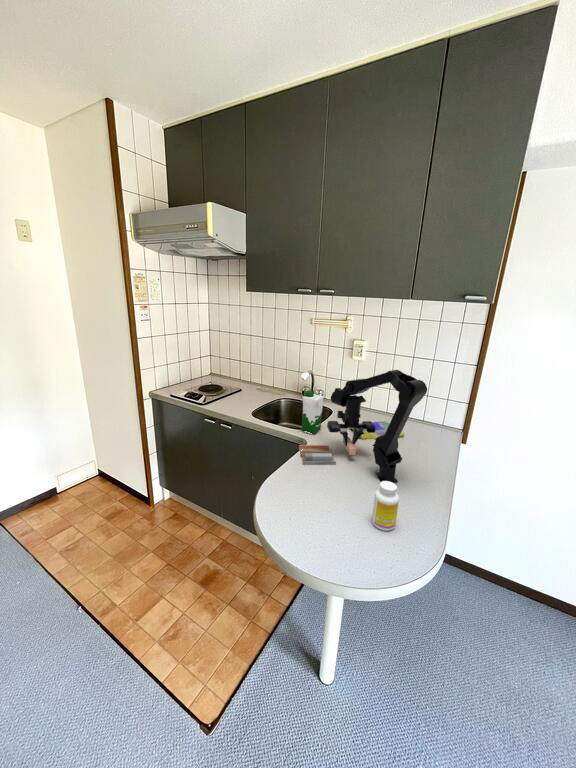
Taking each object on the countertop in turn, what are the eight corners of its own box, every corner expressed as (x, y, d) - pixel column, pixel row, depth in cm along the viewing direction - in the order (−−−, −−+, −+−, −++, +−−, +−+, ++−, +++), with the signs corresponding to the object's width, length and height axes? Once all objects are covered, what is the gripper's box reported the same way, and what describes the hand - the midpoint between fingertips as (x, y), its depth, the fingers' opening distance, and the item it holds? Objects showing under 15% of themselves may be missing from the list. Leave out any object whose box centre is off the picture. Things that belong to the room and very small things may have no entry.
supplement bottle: (398, 531, 89) (404, 492, 86) (376, 532, 89) (381, 492, 85) (389, 515, 96) (394, 478, 92) (368, 516, 95) (373, 479, 92)
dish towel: (405, 439, 152) (406, 433, 151) (358, 441, 147) (358, 436, 146) (388, 424, 168) (388, 420, 167) (344, 426, 164) (345, 421, 163)
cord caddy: (335, 466, 123) (336, 462, 123) (302, 466, 122) (303, 462, 122) (328, 448, 137) (328, 445, 137) (298, 448, 136) (299, 444, 136)
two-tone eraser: (355, 454, 125) (356, 448, 124) (349, 454, 124) (350, 448, 124) (348, 442, 135) (349, 436, 135) (342, 442, 135) (343, 436, 134)
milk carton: (306, 426, 161) (308, 388, 155) (323, 430, 156) (325, 391, 151) (298, 432, 153) (300, 392, 148) (315, 436, 149) (318, 396, 144)
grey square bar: (330, 459, 127) (331, 453, 127) (332, 462, 125) (332, 456, 124) (304, 458, 126) (304, 453, 126) (304, 462, 124) (305, 456, 123)
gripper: (369, 404, 134) (365, 437, 138) (326, 403, 132) (323, 437, 137) (378, 413, 123) (373, 449, 127) (331, 412, 122) (328, 449, 126)
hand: (349, 445), depth 130 cm, fingers closed on two-tone eraser, 2 cm apart
